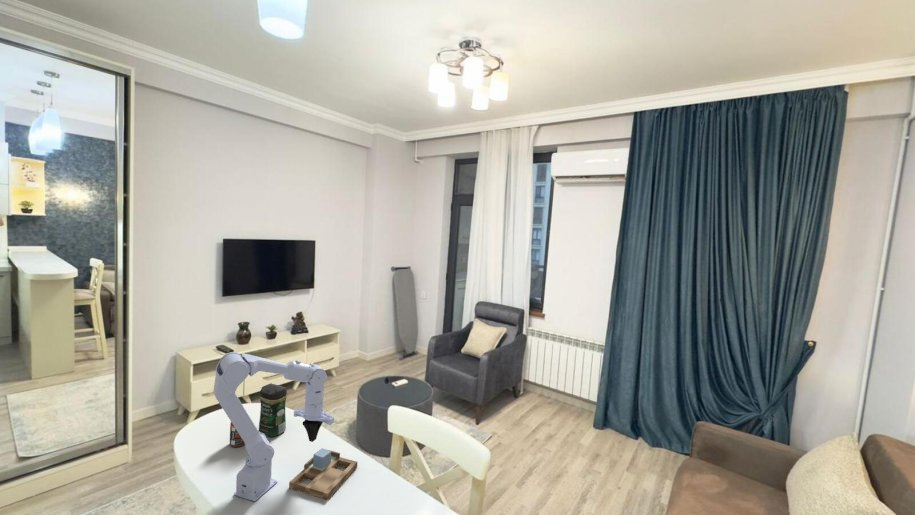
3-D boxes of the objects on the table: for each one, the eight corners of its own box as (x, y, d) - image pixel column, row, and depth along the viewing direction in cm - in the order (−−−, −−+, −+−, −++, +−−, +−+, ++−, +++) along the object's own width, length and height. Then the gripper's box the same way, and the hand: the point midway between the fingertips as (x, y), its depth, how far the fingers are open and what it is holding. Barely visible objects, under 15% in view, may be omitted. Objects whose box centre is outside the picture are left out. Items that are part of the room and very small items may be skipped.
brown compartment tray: (327, 499, 116) (328, 488, 116) (288, 488, 120) (289, 477, 120) (357, 467, 132) (357, 457, 132) (322, 457, 136) (322, 448, 136)
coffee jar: (254, 432, 149) (255, 386, 147) (271, 423, 156) (273, 379, 155) (272, 439, 145) (274, 392, 144) (289, 430, 152) (290, 385, 151)
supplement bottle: (233, 450, 137) (234, 419, 136) (226, 443, 141) (227, 414, 140) (251, 443, 142) (251, 414, 141) (243, 437, 146) (244, 408, 145)
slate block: (322, 469, 127) (322, 457, 127) (313, 465, 129) (313, 454, 128) (330, 462, 131) (331, 451, 130) (321, 459, 132) (322, 448, 132)
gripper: (339, 400, 130) (338, 438, 131) (303, 392, 134) (302, 429, 135) (327, 409, 124) (325, 449, 125) (289, 401, 128) (288, 439, 129)
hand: (312, 440), depth 130 cm, fingers closed
